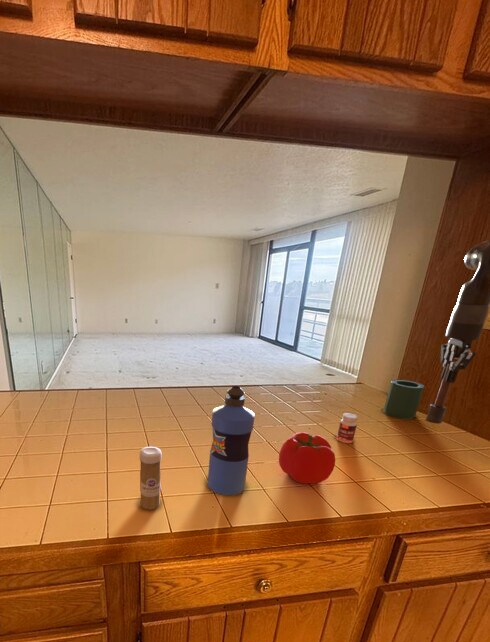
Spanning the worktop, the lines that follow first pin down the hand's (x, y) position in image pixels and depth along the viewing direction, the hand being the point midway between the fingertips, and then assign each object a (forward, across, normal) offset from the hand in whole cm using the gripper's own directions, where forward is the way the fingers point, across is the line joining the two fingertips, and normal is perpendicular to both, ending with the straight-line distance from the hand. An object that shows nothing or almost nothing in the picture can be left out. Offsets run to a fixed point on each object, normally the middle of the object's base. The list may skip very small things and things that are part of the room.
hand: (447, 380), depth 103 cm
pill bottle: (+20, -7, +26) cm, 33 cm away
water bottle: (+19, -42, +61) cm, 77 cm away
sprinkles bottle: (+19, -54, +77) cm, 96 cm away
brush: (+13, 0, 0) cm, 13 cm away
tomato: (+20, -33, +42) cm, 57 cm away
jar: (+20, +23, 0) cm, 30 cm away
